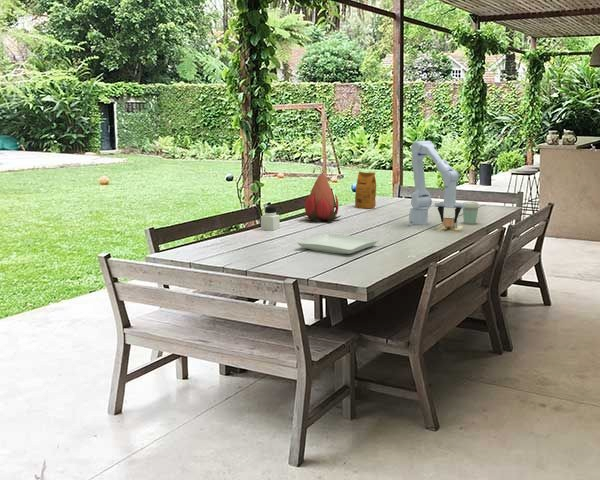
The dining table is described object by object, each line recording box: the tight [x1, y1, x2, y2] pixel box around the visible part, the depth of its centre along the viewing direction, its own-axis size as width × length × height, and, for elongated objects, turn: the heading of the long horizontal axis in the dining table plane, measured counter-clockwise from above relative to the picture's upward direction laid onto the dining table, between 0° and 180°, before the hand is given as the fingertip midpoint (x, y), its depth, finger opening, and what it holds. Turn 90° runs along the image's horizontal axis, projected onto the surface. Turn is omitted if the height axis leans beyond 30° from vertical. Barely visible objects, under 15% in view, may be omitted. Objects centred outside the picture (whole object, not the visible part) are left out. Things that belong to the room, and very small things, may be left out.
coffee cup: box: [462, 201, 480, 226], centre depth 367 cm, size 9×8×12 cm
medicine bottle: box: [260, 204, 281, 232], centre depth 354 cm, size 7×7×12 cm
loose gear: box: [441, 217, 455, 227], centre depth 349 cm, size 6×6×4 cm
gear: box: [444, 220, 458, 229], centre depth 356 cm, size 6×6×4 cm
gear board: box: [435, 224, 464, 233], centre depth 354 cm, size 11×18×4 cm, turn 159°
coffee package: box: [354, 171, 377, 210], centre depth 426 cm, size 10×12×22 cm
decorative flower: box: [303, 164, 342, 223], centre depth 380 cm, size 22×23×30 cm
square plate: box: [296, 233, 379, 255], centre depth 311 cm, size 27×27×4 cm
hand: (448, 222), depth 349 cm, fingers closed on loose gear, 6 cm apart
